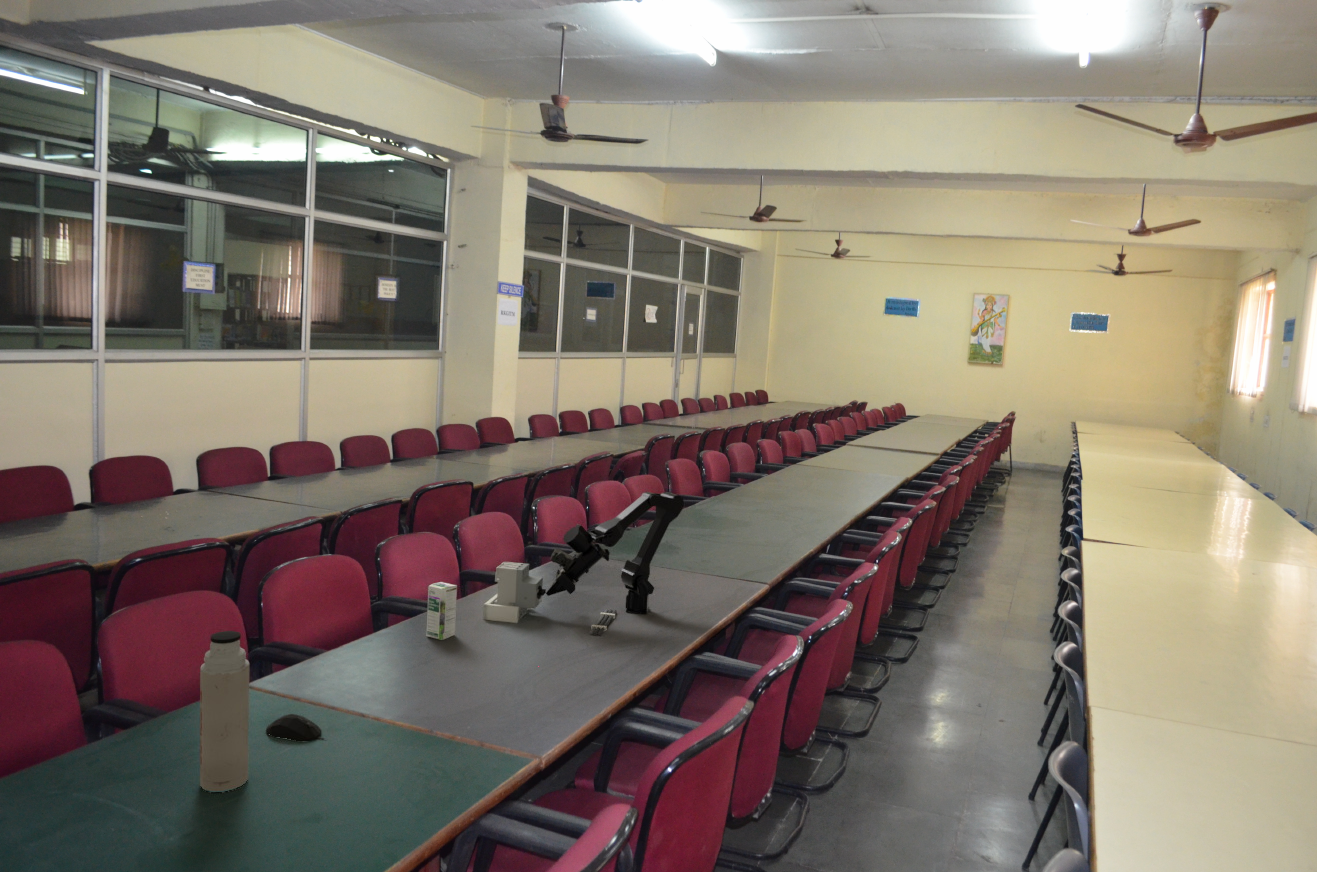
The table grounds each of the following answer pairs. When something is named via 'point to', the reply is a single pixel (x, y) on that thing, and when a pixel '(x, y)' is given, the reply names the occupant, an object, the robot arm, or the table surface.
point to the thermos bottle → (224, 714)
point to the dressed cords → (602, 626)
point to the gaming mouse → (294, 728)
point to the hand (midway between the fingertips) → (546, 594)
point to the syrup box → (441, 610)
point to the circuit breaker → (518, 587)
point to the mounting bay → (500, 611)
